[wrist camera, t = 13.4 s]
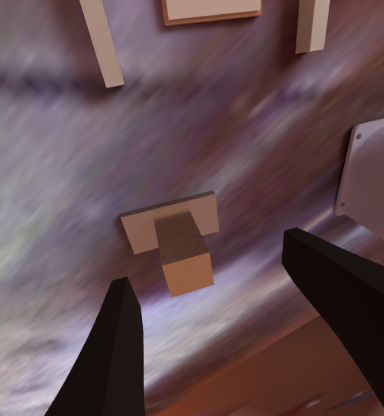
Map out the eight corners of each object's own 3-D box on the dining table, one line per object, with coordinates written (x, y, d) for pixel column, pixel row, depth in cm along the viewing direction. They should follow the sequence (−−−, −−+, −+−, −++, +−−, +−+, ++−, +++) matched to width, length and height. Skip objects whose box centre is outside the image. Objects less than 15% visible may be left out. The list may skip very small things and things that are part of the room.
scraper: (216, 226, 22) (247, 278, 16) (134, 248, 21) (136, 313, 15) (212, 189, 20) (246, 235, 14) (120, 212, 19) (117, 272, 13)
